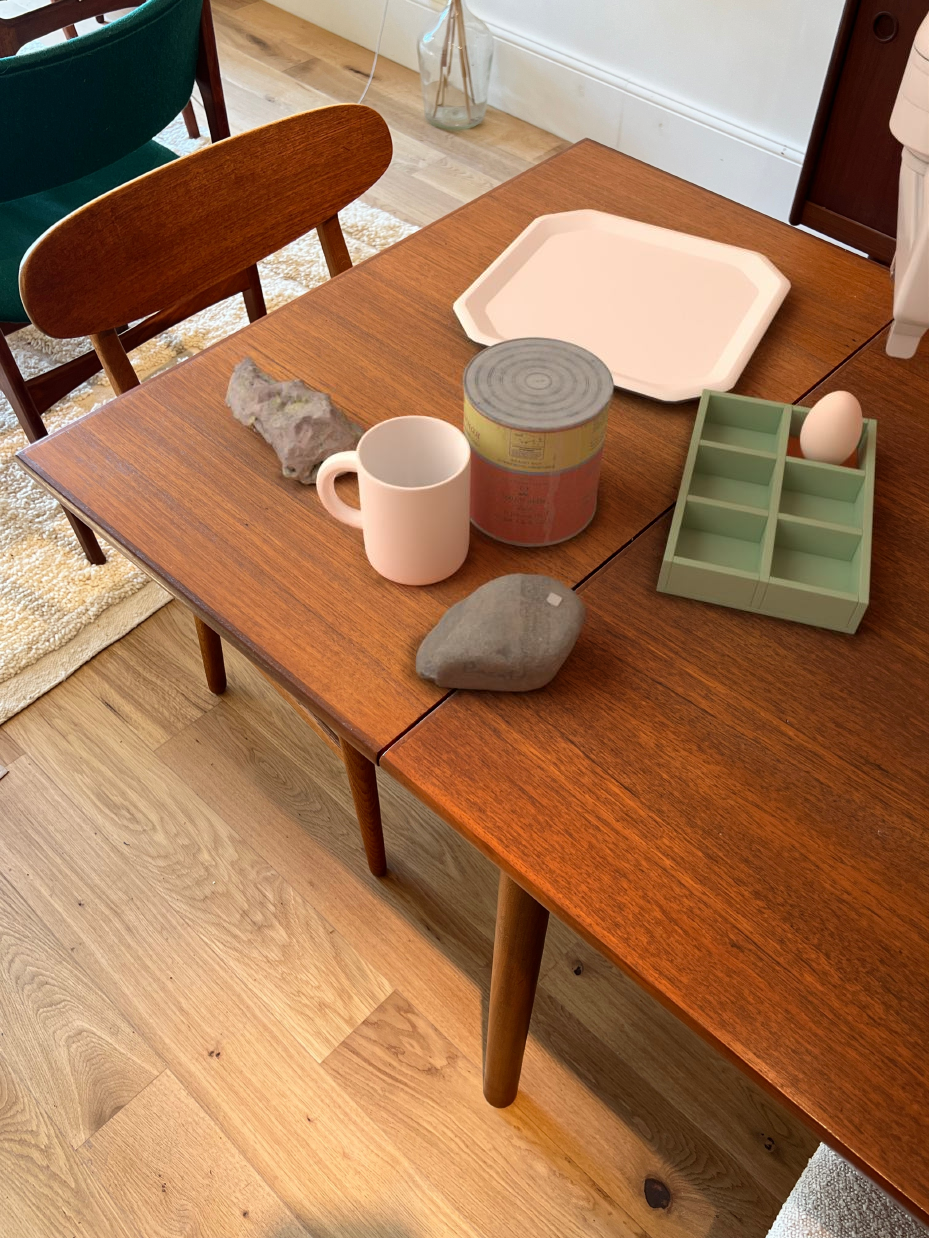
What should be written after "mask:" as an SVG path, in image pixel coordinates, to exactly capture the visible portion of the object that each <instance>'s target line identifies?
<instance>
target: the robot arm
mask: <svg viewBox="0 0 929 1238" xmlns="http://www.w3.org/2000/svg"><path fill="white" fill-rule="evenodd" d="M889 129H890V133H891V134H892V135H893V136H894V138H895V139H897V141H898V142H900V143H901V144H902V145H903V148H902V151H901V165H900V170H899V171H900V172H899V179H898V204H897V205H898V206H897V226H896V227H897V228H896V246H895V253H894V255H893V259H892V262H891V265H890V271H889V279H890V282H891V283H892V284H893V285H894V289H893V307H892V316H893V319H894V320H892V321H891V325H890V328H889V332H888V334H887V337H886V344H885V353H886V355H888V356H889V357H893V358H897V359H899V358H900V359H905V360H907V359H910V358H913V356H915V354H916V351H917V350H918V347H919V344H920V341H921V339H922V337H923V336H924V335H925V333H926V332H927V331H928V329H929V11H928V12H927V14H926V16H925V17H924V19H923V20H922V22H921V24H920V25H919V27H918V29H917V31H916V34H915V36H914V40H913V43H912V46H911V49H910V53H909V57H908V59H907V63H906V67H905V69H904V73H903V76H902V80H901V83H900V86H899V89H898V93H897V95H896V99H895V103H894V106H893V109H892V112H891V116H890V119H889Z"/></svg>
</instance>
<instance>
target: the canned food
mask: <svg viewBox="0 0 929 1238" xmlns="http://www.w3.org/2000/svg"><path fill="white" fill-rule="evenodd" d="M462 388H463V435H464V436H465V437H466V439H467V441H468V443H469V445H470V450H471V467H470V523H471V524H472V525H473V526H474V527H475V528H476V529H477V530H478V531H480V532H481V533H483V534H484V535H486V536H488V537H489V538H491V539H493V540H496V541H498V542H501V543H504V544H508V545H511V546H512V545H513V546H517V547H527V548H534V547H535V548H536V547H537V548H539V547H547V546H552V545H557V544H561V543H563V542H566V541H568V540H571V539H572V538H574V537H576V536H577V535H579V534H581V532H583V531H584V530H585V529H586V528H587V527H588V526H589V524H590V523H591V522H592V520H593V518H594V516H595V513H596V510H597V496H598V489H599V482H600V476H601V468H602V461H603V457H604V456H603V454H604V450H605V449H604V448H605V442H606V434H607V428H608V421H609V413H610V407H611V401H612V398H613V395H614V389H615V388H614V382H613V378H612V375H611V373H610V371H609V369H608V368H607V366H606V365H605V364H604V363H603V362H602V361H601V360H600V359H599V358H598V357H597V356H595V355H594V354H593V353H591V352H589V351H588V350H586V349H584V348H582V347H580V346H577V345H575V344H572V343H569V342H565V341H561V340H557V339H551V338H539V337H528V338H518V339H512V340H507V341H503V342H500V343H497V344H494V345H492V346H490V347H488V348H485V349H482V350H481V351H480V352H478V353H477V354H475V356H473V357H472V358H471V360H470V361H469V362H468V364H467V365H466V366H465V369H464V371H463V375H462Z"/></svg>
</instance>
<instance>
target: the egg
mask: <svg viewBox="0 0 929 1238" xmlns="http://www.w3.org/2000/svg"><path fill="white" fill-rule="evenodd" d="M811 408H812V409H811V410H810V412H809V414H808V415H807V417H806V419H805V421H804V424H803V426H802V430H801V434H800V445H801V450H802V454H803V456H804V457H805V459H806V460H811V461H816V462H821V463H826V464H832V465H837V466H838V465H840V464H841V463H843V462H844V461H845V460H847V459H848V458H849V457H850V455H851V454H852V453H853V451H854V450H855V448H856V446H857V444H858V442H859V439H860V436H861V432H862V426H863V422H862V418H863V413H862V408H861V404H860V402H859V400H858V398H857V397H855V395H853V394H852V393H851V392H848V391H845V390H837V391H833V392H830V393H828V394H826V395H824V396H823V397H822V398H821V399H819V401H817V402H816V403H815V405H814V406H813V407H811Z"/></svg>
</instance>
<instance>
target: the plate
mask: <svg viewBox="0 0 929 1238" xmlns="http://www.w3.org/2000/svg"><path fill="white" fill-rule="evenodd" d="M791 289H792V285H791V281H790V280H789V279H788V278H787V277H786V276H785V275H784V274H783V273H782V272H781V271H780V269H778V268H777V267H776V265H775V264H773V262H772V261H771V260H770V259H769V258H768V257H767V256H765V255H764V254H762V253H760V252H759V251H756V250H755V251H754V250H751V249H747V248H743V247H739V246H735V245H732V244H727V243H723V242H720V241H716V240H712V239H708V238H704V237H700V236H697V235H692V234H689V233H685V232H682V231H677V230H674V229H669V228H665V227H661V226H658V225H654V224H650V223H647V222H643V221H640V220H639V221H638V220H634V219H630V218H627V217H623V216H619V215H616V214H611V213H608V212H604V211H600V210H596V209H591V208H590V209H589V208H583V209H577V210H570V211H564V212H557V213H556V212H555V213H550V214H544V215H540V216H538V217H536V218H534V219H533V221H532V222H531V223H529V225H528V226H527V227H526V228H525V229H524V230H523V231H522V232H521V233H520V234H519V235H518V236H517V237H516V238H515V239H514V240H513V241H512V242H511V243H510V244H509V245H508V246H507V247H506V248H505V250H504V251H502V253H501V254H500V255H499V256H498V257H496V259H495V260H494V261H493V262H492V263H491V264H490V265H489V266H488V267H487V268H486V269H485V270H484V272H482V274H481V275H479V276H478V278H477V279H476V280H475V281H474V282H473V283H472V284H470V286H469V287H468V288H467V289H466V290H465V291H464V292H463V293H462V294H461V295H460V296H459V297H458V298H457V299H456V300H455V302H453V306H452V311H453V313H454V315H455V317H456V319H457V321H458V324H459V325H460V326H461V328H462V330H463V332H464V334H465V336H466V337H467V339H468V341H469V342H471V343H472V344H474V345H475V346H479V347H481V348H485V349H486V348H488V347H490V346H492V345H494V344H497V343H500V342H503V341H507V340H512V339H518V338H528V337H539V338H551V339H557V340H561V341H565V342H569V343H572V344H575V345H577V346H580V347H582V348H584V349H586V350H588V351H589V352H591V353H593V354H594V355H595V356H597V357H598V358H599V359H600V360H601V361H602V362H603V363H604V364H605V365H606V366H607V368H608V369H609V371H610V373H611V375H612V378H613V382H614V389H615V390H616V389H617V390H619V391H623V392H626V393H629V394H632V395H635V396H639V397H641V398H644V399H647V400H651V401H654V402H658V403H659V404H665V405H666V404H667V405H677V404H682V403H687V402H693V401H697V400H701V396H702V392H703V389H708V390H714V391H720V392H725V393H730V392H731V391H733V390H734V388H735V386H736V385H737V383H738V381H739V379H740V377H741V376H742V374H743V372H744V371H745V369H746V367H747V365H748V364H749V362H750V360H751V359H752V357H753V355H754V353H755V352H756V350H757V348H758V347H759V345H760V343H761V341H762V340H763V337H764V336H765V334H766V332H767V331H768V330H769V327H770V326H771V324H772V322H773V320H774V319H775V317H776V315H777V313H778V312H779V310H780V308H781V306H782V305H783V303H784V301H785V299H786V298H787V297H788V294H789V292H790V291H791Z"/></svg>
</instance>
